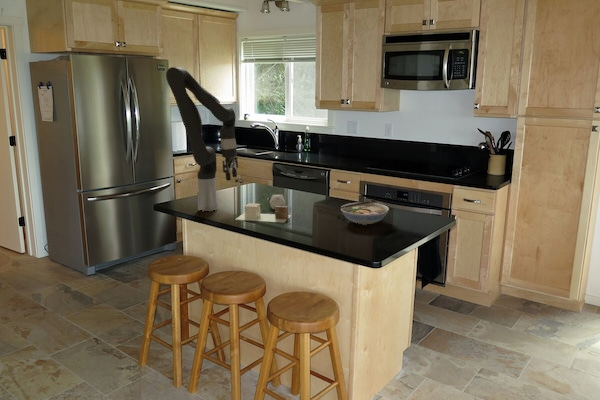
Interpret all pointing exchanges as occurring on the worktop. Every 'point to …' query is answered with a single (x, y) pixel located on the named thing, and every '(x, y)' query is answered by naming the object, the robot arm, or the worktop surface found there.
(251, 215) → the cube
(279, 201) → the die
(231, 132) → the robot arm
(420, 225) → the worktop surface
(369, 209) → the ramen bowl
